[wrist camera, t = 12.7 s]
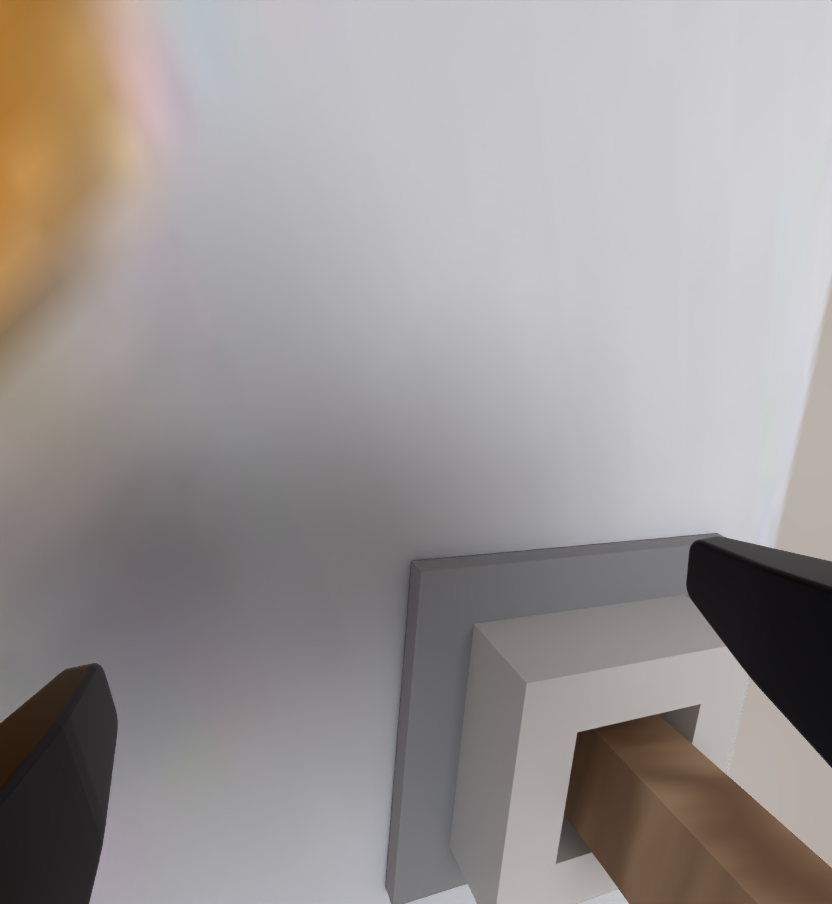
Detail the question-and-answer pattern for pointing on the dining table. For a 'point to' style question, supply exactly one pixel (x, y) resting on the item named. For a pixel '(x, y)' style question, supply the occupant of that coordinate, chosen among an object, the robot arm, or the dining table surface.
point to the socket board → (446, 668)
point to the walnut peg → (682, 824)
